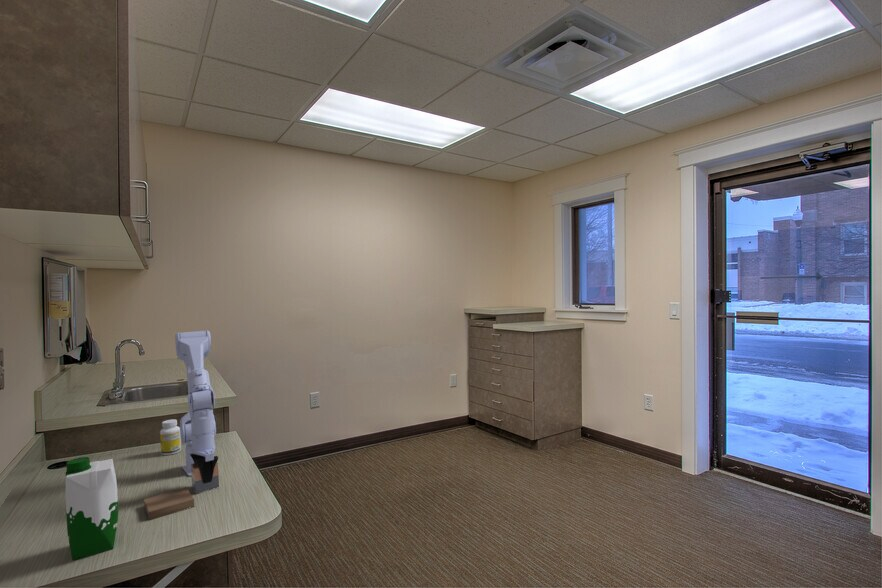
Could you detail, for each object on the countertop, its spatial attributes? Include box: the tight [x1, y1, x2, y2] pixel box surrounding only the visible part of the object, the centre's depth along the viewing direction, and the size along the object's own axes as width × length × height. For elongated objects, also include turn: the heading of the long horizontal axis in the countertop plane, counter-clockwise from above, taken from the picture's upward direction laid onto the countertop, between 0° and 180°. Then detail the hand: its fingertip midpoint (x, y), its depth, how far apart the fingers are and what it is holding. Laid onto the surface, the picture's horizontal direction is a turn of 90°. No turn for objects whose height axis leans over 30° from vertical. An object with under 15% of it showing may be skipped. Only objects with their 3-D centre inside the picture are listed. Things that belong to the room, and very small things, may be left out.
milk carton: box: [65, 456, 119, 561], centre depth 102 cm, size 9×9×20 cm
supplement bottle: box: [159, 418, 182, 456], centre depth 163 cm, size 6×6×11 cm
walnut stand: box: [143, 487, 195, 521], centre depth 120 cm, size 10×10×2 cm
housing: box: [191, 462, 220, 494], centre depth 131 cm, size 5×6×7 cm
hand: (205, 479), depth 131 cm, fingers closed on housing, 5 cm apart
